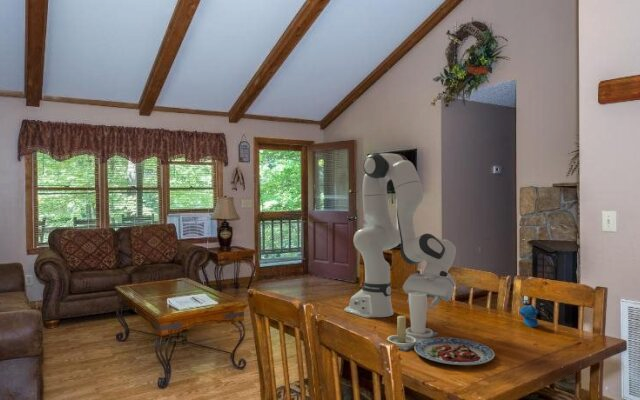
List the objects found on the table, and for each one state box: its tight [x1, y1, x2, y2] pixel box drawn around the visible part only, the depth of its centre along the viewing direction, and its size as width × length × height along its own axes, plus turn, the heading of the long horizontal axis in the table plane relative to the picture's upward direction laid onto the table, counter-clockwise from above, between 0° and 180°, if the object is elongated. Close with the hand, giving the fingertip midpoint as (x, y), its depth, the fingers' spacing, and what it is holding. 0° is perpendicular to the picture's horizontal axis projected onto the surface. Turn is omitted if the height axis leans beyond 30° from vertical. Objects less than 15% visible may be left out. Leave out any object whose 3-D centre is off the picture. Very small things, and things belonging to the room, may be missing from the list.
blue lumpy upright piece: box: [518, 304, 539, 328], centre depth 190 cm, size 7×9×12 cm
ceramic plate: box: [413, 337, 495, 366], centre depth 156 cm, size 26×26×3 cm
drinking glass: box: [408, 292, 428, 334], centre depth 178 cm, size 7×7×15 cm
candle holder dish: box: [386, 315, 439, 352], centre depth 172 cm, size 10×24×10 cm, turn 140°
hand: (419, 305), depth 178 cm, fingers open, 8 cm apart
